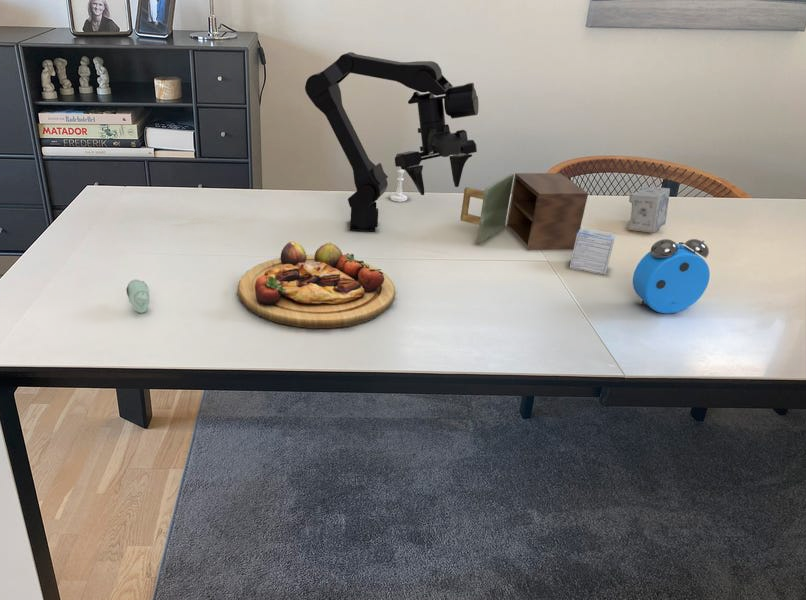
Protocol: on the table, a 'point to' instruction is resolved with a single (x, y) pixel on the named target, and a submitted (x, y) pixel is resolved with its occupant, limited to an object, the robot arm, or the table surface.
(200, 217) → the table surface
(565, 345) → the table surface
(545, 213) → the cupboard
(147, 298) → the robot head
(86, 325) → the table surface
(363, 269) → the wooden plate
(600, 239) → the medicine box
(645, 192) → the incense holder
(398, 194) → the chess piece
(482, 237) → the door
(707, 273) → the alarm clock
